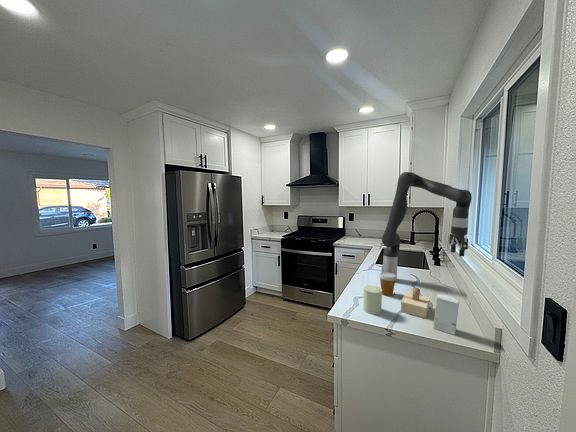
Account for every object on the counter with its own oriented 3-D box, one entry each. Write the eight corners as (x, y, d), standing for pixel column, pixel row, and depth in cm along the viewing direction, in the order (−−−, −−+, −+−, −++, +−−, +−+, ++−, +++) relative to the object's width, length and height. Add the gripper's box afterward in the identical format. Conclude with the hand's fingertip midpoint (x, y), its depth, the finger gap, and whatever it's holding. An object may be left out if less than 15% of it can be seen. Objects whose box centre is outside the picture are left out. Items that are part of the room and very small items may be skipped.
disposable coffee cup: (394, 291, 147) (395, 273, 146) (396, 298, 138) (397, 278, 137) (378, 289, 150) (379, 271, 149) (378, 296, 141) (379, 276, 140)
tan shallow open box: (400, 311, 123) (401, 303, 122) (406, 301, 134) (406, 293, 133) (425, 318, 116) (425, 309, 116) (428, 307, 127) (429, 299, 127)
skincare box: (433, 328, 107) (435, 297, 106) (435, 323, 112) (437, 292, 111) (455, 335, 102) (458, 302, 101) (457, 329, 107) (459, 297, 105)
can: (379, 316, 118) (380, 293, 117) (360, 311, 123) (361, 289, 122) (383, 308, 126) (384, 286, 125) (365, 304, 131) (366, 283, 130)
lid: (400, 303, 122) (401, 291, 122) (406, 293, 134) (407, 282, 133) (426, 309, 115) (426, 296, 115) (429, 299, 127) (430, 287, 126)
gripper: (445, 223, 139) (443, 250, 141) (459, 227, 125) (456, 257, 127) (459, 224, 138) (457, 251, 140) (474, 228, 124) (472, 258, 126)
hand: (457, 254), depth 134 cm, fingers open, 8 cm apart
